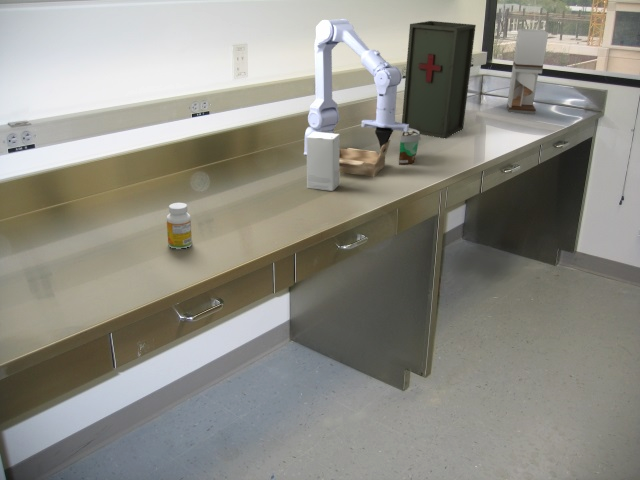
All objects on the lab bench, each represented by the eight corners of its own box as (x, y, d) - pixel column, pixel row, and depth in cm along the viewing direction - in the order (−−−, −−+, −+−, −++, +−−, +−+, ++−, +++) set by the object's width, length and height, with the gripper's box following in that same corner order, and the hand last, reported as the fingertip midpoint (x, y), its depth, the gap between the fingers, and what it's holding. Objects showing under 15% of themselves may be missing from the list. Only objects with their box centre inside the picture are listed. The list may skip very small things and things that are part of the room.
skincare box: (339, 185, 193) (341, 133, 187) (332, 192, 187) (334, 139, 181) (312, 181, 195) (314, 130, 189) (305, 188, 190) (306, 135, 183)
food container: (417, 167, 212) (420, 137, 208) (398, 166, 213) (400, 136, 209) (419, 157, 223) (422, 128, 219) (401, 155, 224) (404, 127, 220)
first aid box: (463, 129, 262) (475, 24, 246) (445, 138, 247) (457, 28, 231) (420, 122, 271) (430, 20, 255) (401, 130, 256) (410, 23, 240)
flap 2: (376, 161, 201) (381, 146, 199) (384, 154, 209) (389, 139, 206) (378, 161, 201) (382, 146, 199) (385, 154, 209) (390, 140, 206)
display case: (508, 112, 294) (521, 31, 280) (506, 107, 304) (518, 28, 290) (535, 114, 292) (548, 32, 278) (532, 109, 302) (544, 30, 288)
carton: (325, 169, 207) (325, 156, 205) (341, 157, 220) (341, 144, 218) (373, 176, 202) (374, 163, 200) (387, 163, 215) (388, 150, 213)
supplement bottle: (169, 240, 152) (167, 201, 149) (193, 240, 153) (191, 201, 149) (166, 250, 148) (164, 209, 144) (191, 250, 148) (188, 209, 144)
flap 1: (334, 158, 204) (328, 161, 199) (334, 157, 203) (329, 160, 199) (365, 163, 200) (360, 165, 196) (365, 161, 200) (360, 164, 196)
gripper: (359, 108, 197) (357, 152, 203) (406, 113, 193) (402, 157, 198) (366, 104, 203) (364, 146, 209) (411, 108, 199) (408, 152, 204)
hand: (383, 151), depth 204 cm, fingers closed, pressing on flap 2
